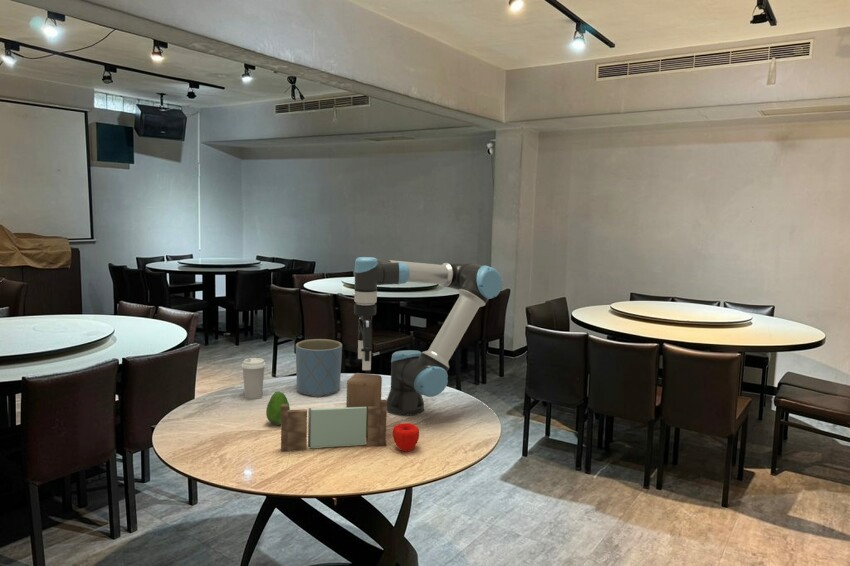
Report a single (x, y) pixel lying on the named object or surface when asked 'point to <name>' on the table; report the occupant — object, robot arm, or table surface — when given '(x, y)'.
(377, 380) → the wooden block
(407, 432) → the apple
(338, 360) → the planter
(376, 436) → the wall frame
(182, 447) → the table surface
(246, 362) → the coffee cup
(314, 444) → the door
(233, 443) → the table surface
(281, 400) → the fruit
